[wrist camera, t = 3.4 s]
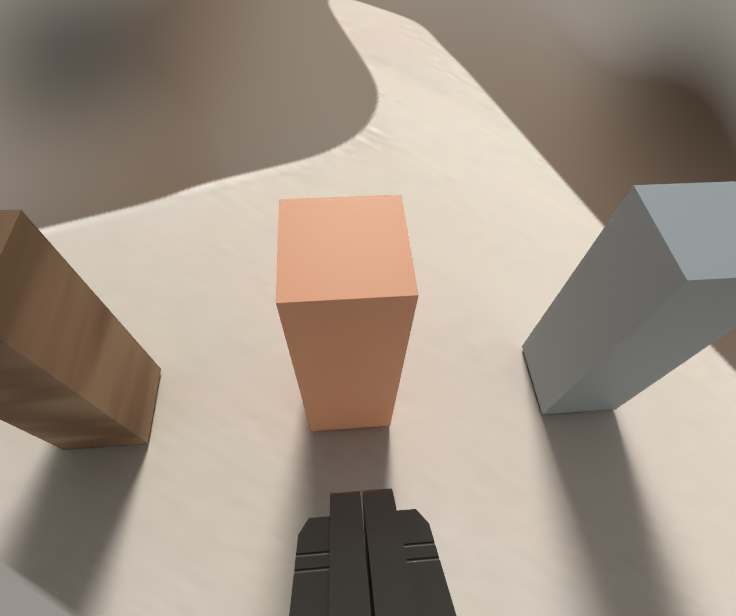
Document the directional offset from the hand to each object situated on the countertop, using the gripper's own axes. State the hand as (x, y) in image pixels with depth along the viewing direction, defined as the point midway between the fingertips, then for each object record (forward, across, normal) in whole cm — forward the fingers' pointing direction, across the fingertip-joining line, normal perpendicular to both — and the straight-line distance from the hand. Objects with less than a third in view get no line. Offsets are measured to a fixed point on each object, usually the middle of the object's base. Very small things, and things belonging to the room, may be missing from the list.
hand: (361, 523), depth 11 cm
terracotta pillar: (+13, 0, +2) cm, 13 cm away
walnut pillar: (+13, +12, +2) cm, 18 cm away
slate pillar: (+13, -12, +2) cm, 18 cm away
